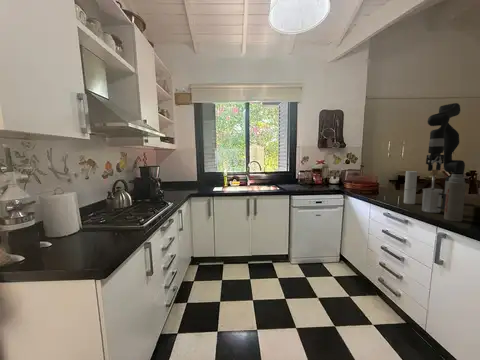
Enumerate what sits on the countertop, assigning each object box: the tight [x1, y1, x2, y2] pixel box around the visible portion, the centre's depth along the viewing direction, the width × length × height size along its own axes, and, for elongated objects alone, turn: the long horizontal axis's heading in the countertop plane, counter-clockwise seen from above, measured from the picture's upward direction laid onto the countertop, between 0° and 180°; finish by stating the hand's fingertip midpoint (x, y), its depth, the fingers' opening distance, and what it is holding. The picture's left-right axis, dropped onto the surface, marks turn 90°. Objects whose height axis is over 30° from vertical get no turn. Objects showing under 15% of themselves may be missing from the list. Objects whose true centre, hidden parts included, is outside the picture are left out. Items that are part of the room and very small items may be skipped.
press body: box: [421, 187, 446, 214], centre depth 151 cm, size 9×12×15 cm
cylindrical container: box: [403, 170, 418, 205], centre depth 177 cm, size 7×7×25 cm
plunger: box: [429, 169, 439, 190], centre depth 152 cm, size 5×5×18 cm
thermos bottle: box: [443, 172, 467, 222], centre depth 133 cm, size 8×8×28 cm
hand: (434, 170), depth 151 cm, fingers open, 8 cm apart
